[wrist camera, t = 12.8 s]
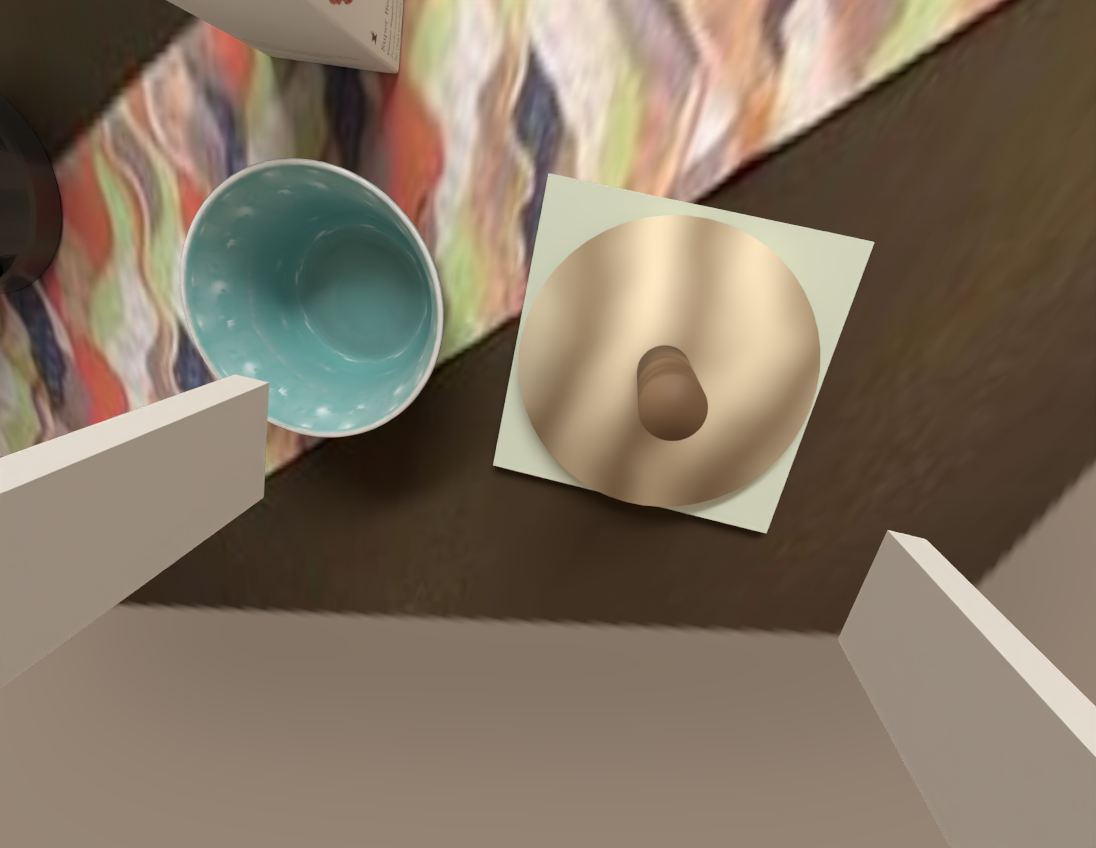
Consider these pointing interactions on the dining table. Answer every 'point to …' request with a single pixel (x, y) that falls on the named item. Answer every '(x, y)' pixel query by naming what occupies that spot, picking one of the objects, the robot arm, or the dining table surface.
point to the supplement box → (312, 29)
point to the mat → (593, 208)
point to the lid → (669, 360)
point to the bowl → (313, 295)
